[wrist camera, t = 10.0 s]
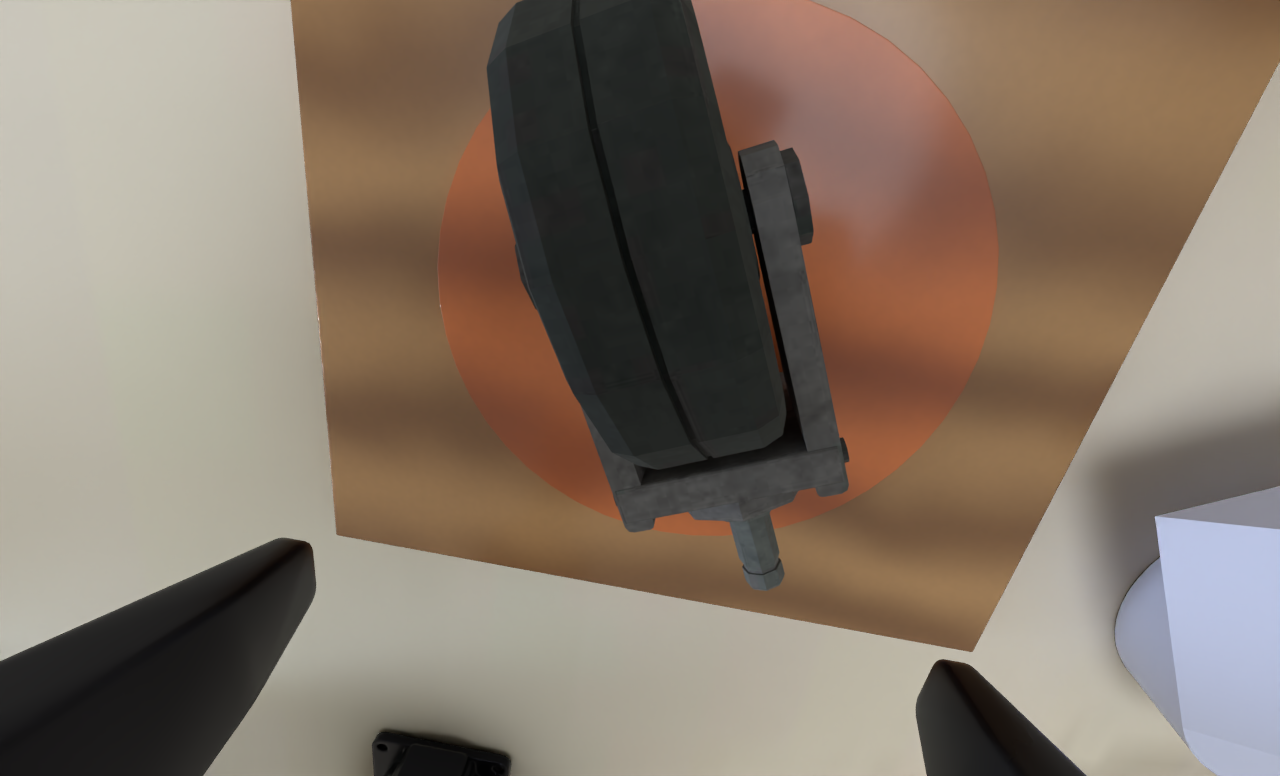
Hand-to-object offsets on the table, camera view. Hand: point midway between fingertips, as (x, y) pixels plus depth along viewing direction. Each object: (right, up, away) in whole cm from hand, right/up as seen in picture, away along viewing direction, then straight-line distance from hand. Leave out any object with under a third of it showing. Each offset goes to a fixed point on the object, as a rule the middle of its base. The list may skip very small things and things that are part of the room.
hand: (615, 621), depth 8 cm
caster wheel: (+2, +6, +9) cm, 11 cm away
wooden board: (+2, +6, +10) cm, 12 cm away
